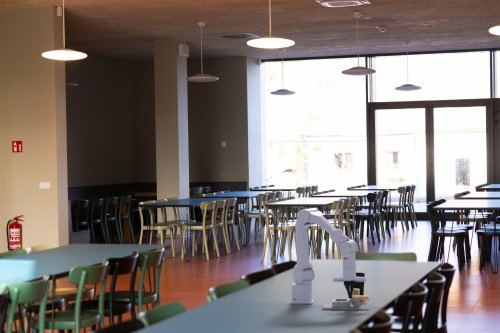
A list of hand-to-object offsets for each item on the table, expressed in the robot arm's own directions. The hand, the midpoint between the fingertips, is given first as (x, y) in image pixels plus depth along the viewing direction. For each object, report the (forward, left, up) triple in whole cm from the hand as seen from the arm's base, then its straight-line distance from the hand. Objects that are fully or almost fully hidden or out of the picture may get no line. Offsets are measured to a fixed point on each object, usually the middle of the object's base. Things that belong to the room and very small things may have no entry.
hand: (350, 298), depth 351 cm
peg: (+2, +8, -4) cm, 9 cm away
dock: (-4, 0, -4) cm, 6 cm away
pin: (+4, 0, -1) cm, 4 cm away
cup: (+2, +22, -4) cm, 23 cm away
